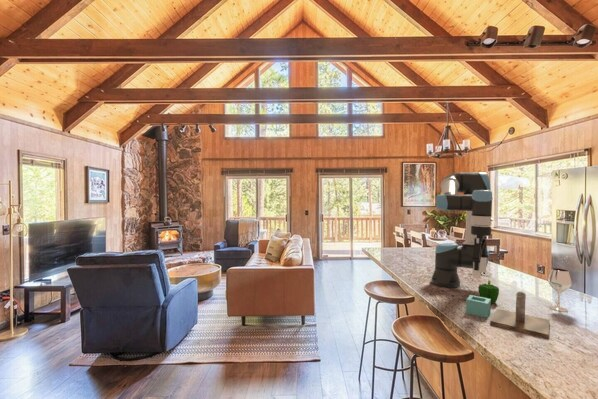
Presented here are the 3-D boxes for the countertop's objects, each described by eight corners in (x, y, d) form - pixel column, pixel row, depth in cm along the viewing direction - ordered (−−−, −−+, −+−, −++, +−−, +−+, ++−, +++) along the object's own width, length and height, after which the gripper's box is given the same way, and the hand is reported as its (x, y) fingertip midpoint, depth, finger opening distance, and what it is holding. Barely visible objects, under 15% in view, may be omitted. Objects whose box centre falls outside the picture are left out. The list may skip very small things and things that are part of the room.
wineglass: (565, 313, 136) (566, 272, 136) (543, 307, 144) (544, 268, 143) (574, 310, 140) (575, 271, 140) (552, 304, 147) (553, 267, 147)
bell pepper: (493, 306, 144) (493, 284, 144) (475, 300, 151) (475, 280, 151) (502, 302, 149) (502, 282, 148) (484, 297, 156) (484, 278, 155)
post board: (490, 324, 123) (491, 291, 123) (496, 311, 137) (497, 282, 136) (548, 338, 111) (549, 302, 111) (549, 323, 125) (550, 291, 125)
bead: (465, 313, 135) (466, 299, 134) (469, 308, 141) (470, 294, 141) (487, 318, 129) (487, 303, 129) (490, 312, 136) (490, 298, 136)
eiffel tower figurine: (467, 275, 202) (468, 254, 202) (465, 271, 212) (466, 252, 212) (494, 278, 197) (495, 256, 197) (491, 274, 206) (491, 254, 206)
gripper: (486, 228, 122) (484, 282, 123) (495, 224, 142) (494, 271, 142) (465, 227, 127) (463, 278, 128) (476, 223, 146) (475, 268, 147)
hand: (479, 274), depth 135 cm, fingers open, 13 cm apart
